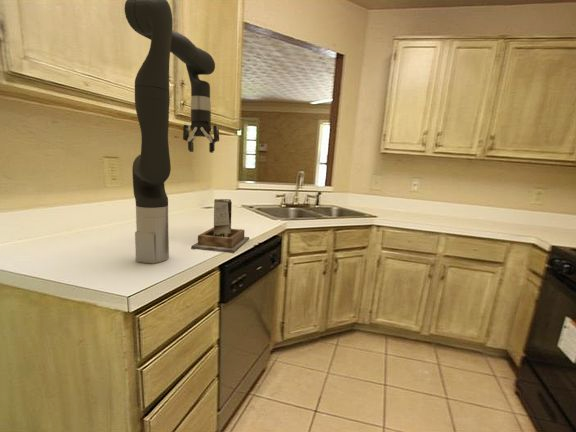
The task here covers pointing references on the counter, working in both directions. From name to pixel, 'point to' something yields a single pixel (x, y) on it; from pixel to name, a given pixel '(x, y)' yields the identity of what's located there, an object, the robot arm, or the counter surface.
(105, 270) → the counter surface
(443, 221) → the counter surface
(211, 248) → the socket
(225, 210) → the coffee box
